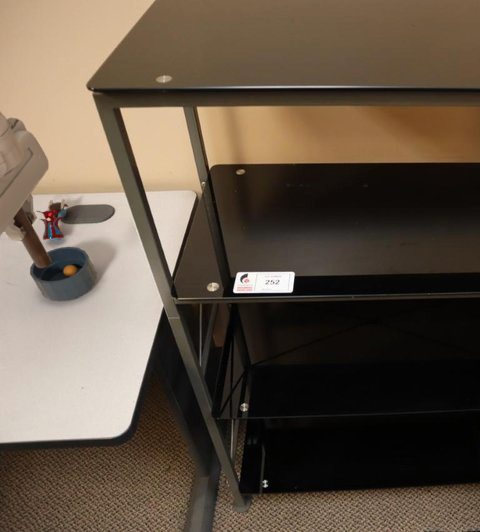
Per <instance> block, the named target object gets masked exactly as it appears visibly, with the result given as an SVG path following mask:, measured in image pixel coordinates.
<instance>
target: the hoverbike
mask: <svg viewBox="0 0 480 532" xmlns="http://www.w3.org/2000/svg"><path fill="white" fill-rule="evenodd" d="M65 207H66V208H69V205H68V204H67V203H66V199H65V198H62V199H61V201H59V202H58V201H56V202H53V200H52V199H51V200H49V202H48V206H47V210H45V211H40V210H36V213H41V214H42V215H43V217H44V218H39V220H40V221H42V222H43V224H44V232H43V235H42V240H43V241H47V240H51V241H54V242H57V241H59V240H60V239H64V238H65V234H64V232H62V230H61V228H60V226H59V221H60V220H62V219H63V218H65V217H66V216H67V210H66V208H65Z"/></svg>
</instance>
